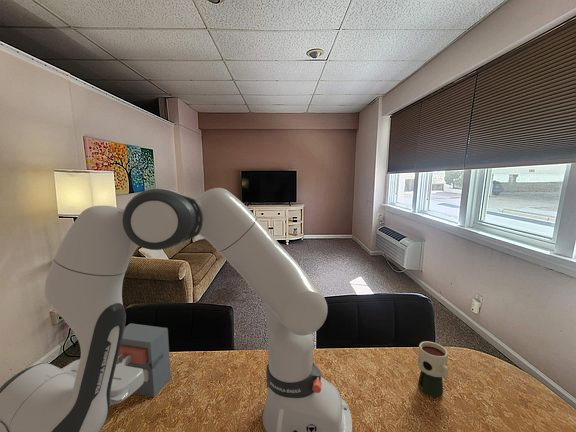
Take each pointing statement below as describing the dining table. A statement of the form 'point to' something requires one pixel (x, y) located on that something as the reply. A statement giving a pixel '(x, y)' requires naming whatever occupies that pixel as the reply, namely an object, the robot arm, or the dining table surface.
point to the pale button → (145, 371)
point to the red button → (135, 353)
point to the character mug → (432, 368)
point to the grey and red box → (150, 355)
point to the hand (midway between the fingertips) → (127, 356)
